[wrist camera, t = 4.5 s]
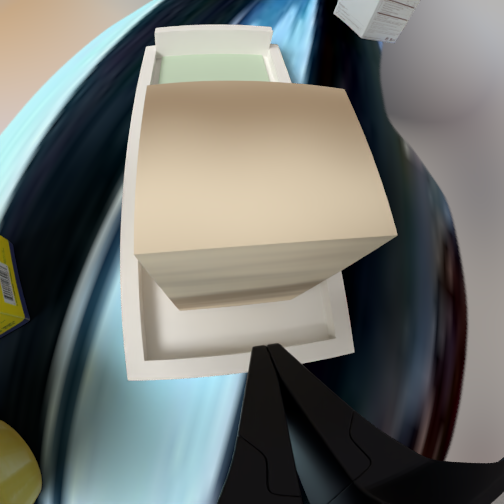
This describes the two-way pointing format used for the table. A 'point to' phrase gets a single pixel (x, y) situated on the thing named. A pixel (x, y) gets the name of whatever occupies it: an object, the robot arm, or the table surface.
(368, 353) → the table surface
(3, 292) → the supplement box
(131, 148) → the tray
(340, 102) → the birch block
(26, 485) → the plant pot
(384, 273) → the table surface
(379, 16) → the supplement box
